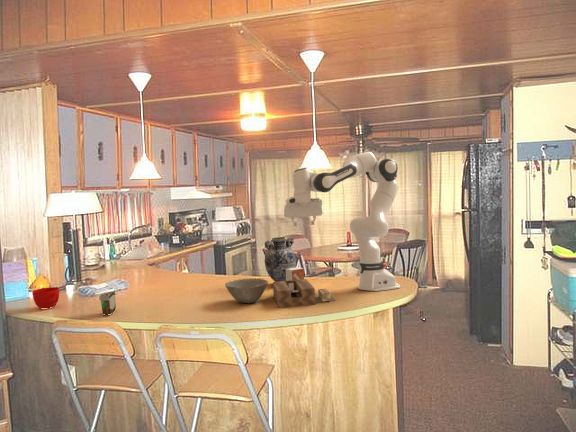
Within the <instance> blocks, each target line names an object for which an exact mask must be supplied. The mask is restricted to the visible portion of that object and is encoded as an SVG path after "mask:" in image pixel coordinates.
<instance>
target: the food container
mask: <svg viewBox="0 0 576 432" xmlns="http://www.w3.org/2000/svg"><path fill="white" fill-rule="evenodd" d="M98 299H99V301H100V304H101V305H100V306H101V310H102V315H103V314H105V315H108V314H111V313H113V312H114V311H115V309H116V310H117V307H116V306H117V305H116V304H117V303H116V291H115V290H114V291H113V290H112V291H107V292H102V293H100V294H99V298H98ZM115 312H116V311H115ZM115 312H114V313H115ZM114 313H113V314H114Z"/></svg>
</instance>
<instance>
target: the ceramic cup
mask: <svg viewBox="0 0 576 432" xmlns="http://www.w3.org/2000/svg"><path fill="white" fill-rule="evenodd" d="M59 297H60V288H59V287H57V286H55V287H54V286H51V287H42V288H37V289H33V291H32V298H33V302H34V304H35V305H36V306H37V307H38V308H39V309H40V308H50V307H53V306H54V307H56V305H57V304H58V302H59V299H60V298H59Z"/></svg>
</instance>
